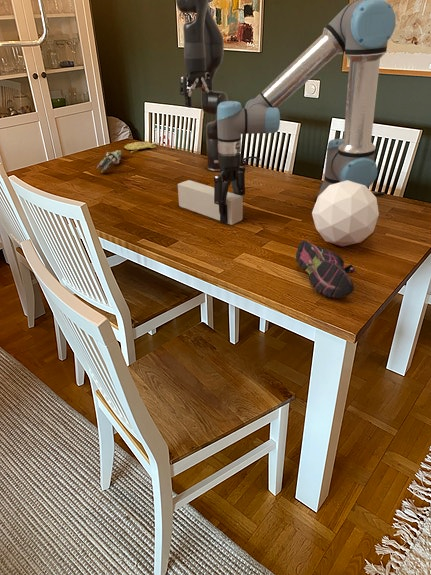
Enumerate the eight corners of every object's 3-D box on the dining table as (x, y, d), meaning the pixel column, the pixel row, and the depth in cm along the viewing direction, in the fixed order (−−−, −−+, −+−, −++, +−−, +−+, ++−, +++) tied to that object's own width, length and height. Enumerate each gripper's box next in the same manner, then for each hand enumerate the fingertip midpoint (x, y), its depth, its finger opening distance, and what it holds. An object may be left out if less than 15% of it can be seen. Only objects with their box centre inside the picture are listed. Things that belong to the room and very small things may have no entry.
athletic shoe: (341, 287, 106) (380, 279, 110) (299, 225, 117) (336, 220, 122) (323, 315, 114) (360, 306, 119) (286, 254, 126) (321, 249, 130)
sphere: (321, 259, 144) (291, 205, 142) (371, 228, 146) (342, 175, 144) (347, 258, 125) (313, 196, 123) (404, 222, 128) (371, 161, 125)
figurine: (101, 154, 197) (119, 141, 223) (91, 167, 200) (110, 152, 227) (114, 165, 199) (130, 151, 225) (103, 178, 203) (121, 162, 229)
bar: (179, 206, 169) (177, 183, 164) (190, 201, 172) (188, 179, 168) (231, 225, 153) (231, 201, 148) (242, 219, 156) (242, 196, 152)
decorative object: (138, 138, 251) (166, 140, 241) (139, 142, 252) (166, 144, 242) (113, 146, 236) (141, 149, 226) (113, 151, 237) (142, 154, 228)
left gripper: (187, 58, 149) (190, 109, 158) (216, 55, 157) (217, 103, 166) (172, 57, 153) (176, 107, 162) (201, 54, 162) (203, 101, 171)
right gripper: (218, 162, 136) (219, 230, 148) (256, 148, 147) (255, 213, 160) (200, 157, 140) (203, 224, 153) (239, 144, 152) (239, 208, 164)
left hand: (197, 105), depth 164 cm, fingers open, 8 cm apart
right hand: (230, 218), depth 156 cm, fingers open, 6 cm apart
